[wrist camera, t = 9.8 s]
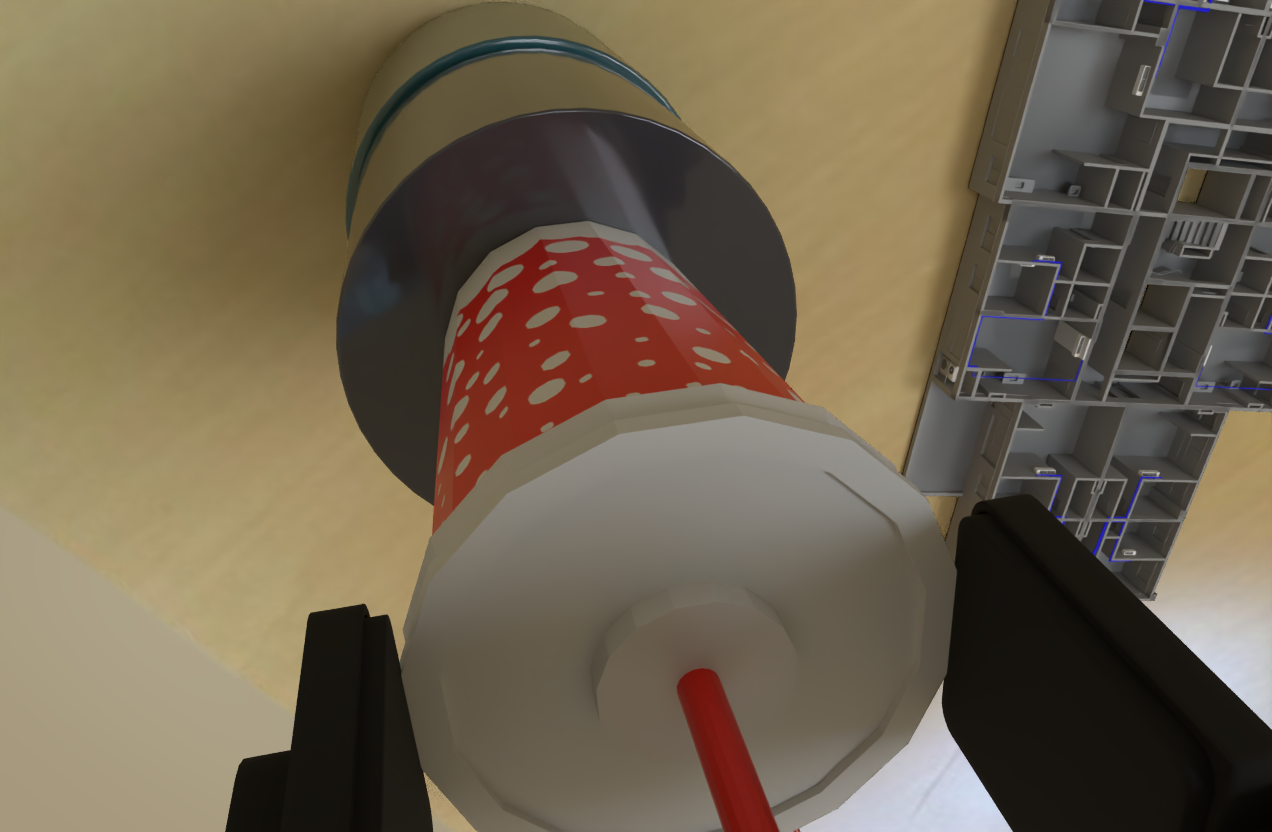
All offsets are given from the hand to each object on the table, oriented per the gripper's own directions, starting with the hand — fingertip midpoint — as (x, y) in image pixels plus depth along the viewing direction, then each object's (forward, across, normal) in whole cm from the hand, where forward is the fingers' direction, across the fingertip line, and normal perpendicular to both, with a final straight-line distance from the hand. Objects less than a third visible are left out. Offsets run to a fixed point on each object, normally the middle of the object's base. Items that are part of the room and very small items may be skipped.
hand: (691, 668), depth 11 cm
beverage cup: (+9, 0, 0) cm, 9 cm away
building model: (+24, -23, +8) cm, 34 cm away
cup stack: (+24, 0, 0) cm, 24 cm away
